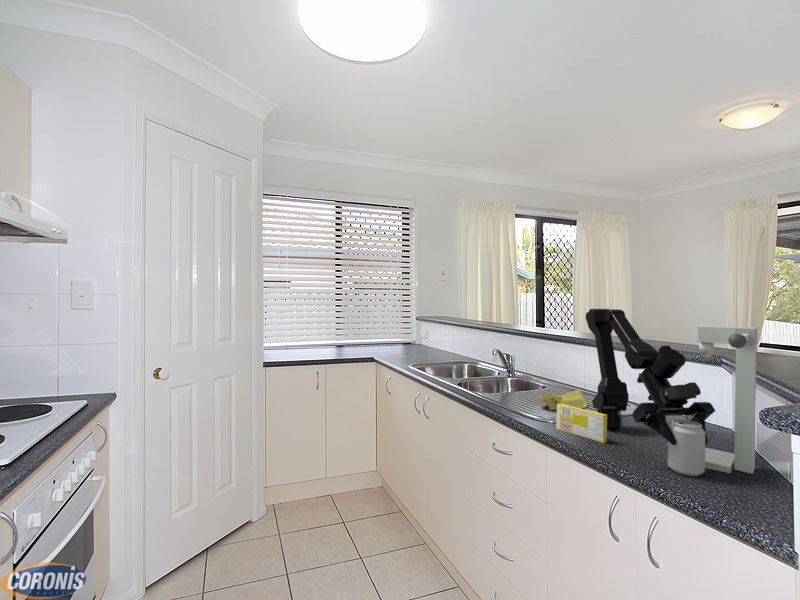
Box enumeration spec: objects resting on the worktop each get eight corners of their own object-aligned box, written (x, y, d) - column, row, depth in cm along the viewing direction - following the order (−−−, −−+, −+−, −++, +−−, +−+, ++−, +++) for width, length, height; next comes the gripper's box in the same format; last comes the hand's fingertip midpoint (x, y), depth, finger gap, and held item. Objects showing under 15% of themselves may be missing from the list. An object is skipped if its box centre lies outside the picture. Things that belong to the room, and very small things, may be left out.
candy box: (607, 442, 122) (608, 414, 122) (603, 444, 121) (603, 415, 121) (559, 427, 136) (560, 402, 136) (555, 429, 135) (555, 403, 135)
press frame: (682, 479, 98) (684, 329, 97) (700, 455, 113) (701, 325, 112) (745, 495, 90) (747, 332, 89) (755, 467, 104) (757, 328, 104)
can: (697, 466, 105) (697, 419, 105) (710, 479, 98) (711, 428, 98) (663, 463, 107) (663, 416, 107) (673, 475, 100) (674, 425, 100)
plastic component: (560, 395, 171) (582, 388, 164) (567, 413, 168) (589, 407, 161) (532, 398, 159) (554, 391, 152) (538, 418, 156) (561, 411, 149)
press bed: (673, 459, 109) (673, 454, 109) (683, 448, 118) (683, 442, 118) (730, 473, 101) (730, 467, 101) (736, 459, 110) (736, 454, 110)
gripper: (640, 371, 105) (671, 428, 95) (709, 370, 107) (748, 427, 96) (621, 394, 113) (647, 450, 102) (686, 394, 115) (719, 448, 104)
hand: (690, 443), depth 101 cm, fingers open, 8 cm apart
